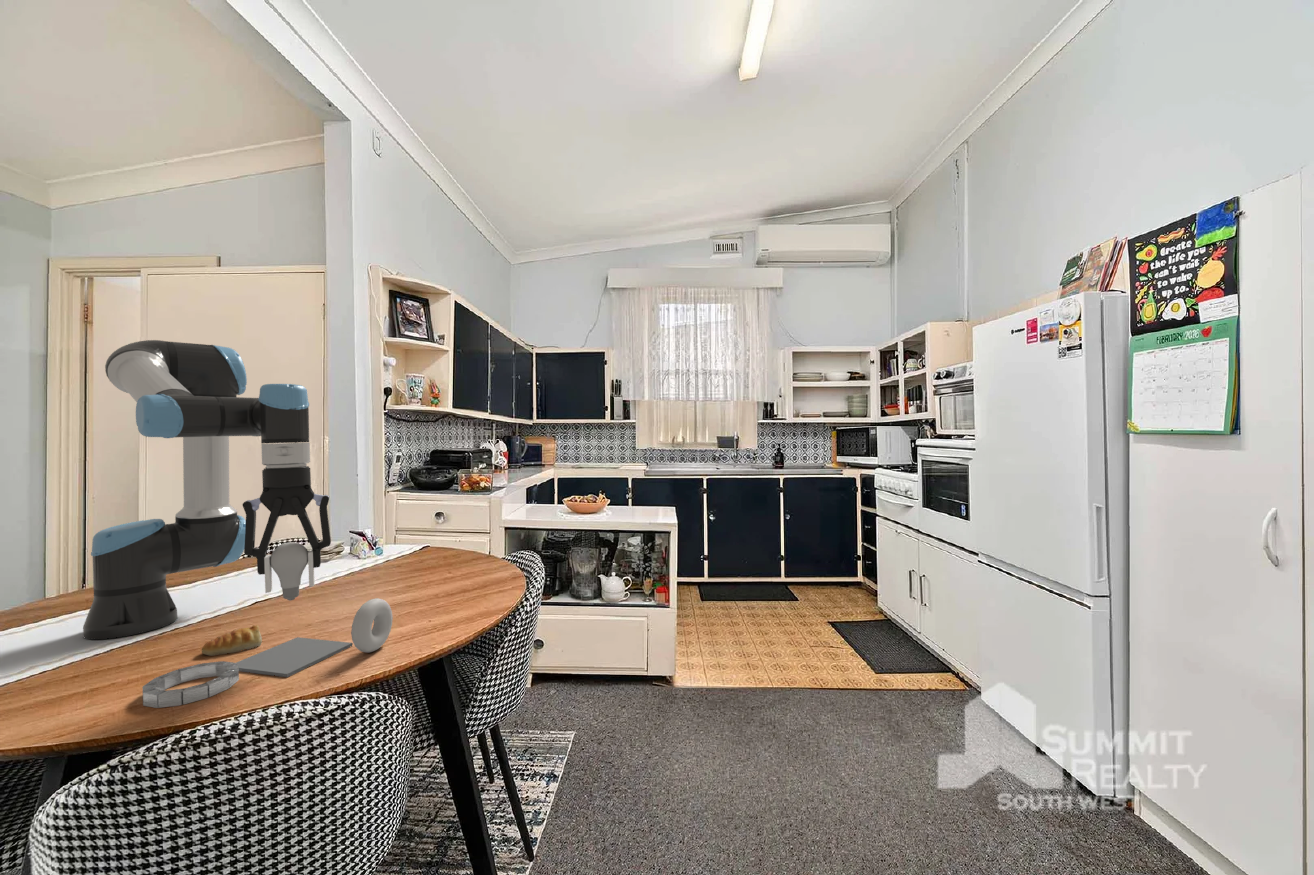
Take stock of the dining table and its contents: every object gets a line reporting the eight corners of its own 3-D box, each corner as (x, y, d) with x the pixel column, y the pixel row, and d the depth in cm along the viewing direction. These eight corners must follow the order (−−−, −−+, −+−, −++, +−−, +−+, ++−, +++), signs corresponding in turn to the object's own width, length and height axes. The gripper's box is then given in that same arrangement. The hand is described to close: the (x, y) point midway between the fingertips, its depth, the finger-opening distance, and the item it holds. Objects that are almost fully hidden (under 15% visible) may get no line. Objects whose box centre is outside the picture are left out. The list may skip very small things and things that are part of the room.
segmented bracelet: (123, 702, 86) (123, 690, 86) (204, 669, 97) (204, 658, 97) (178, 711, 83) (177, 698, 83) (255, 676, 94) (254, 665, 94)
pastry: (203, 661, 102) (203, 641, 102) (199, 652, 106) (199, 633, 106) (264, 646, 108) (263, 627, 108) (258, 638, 113) (257, 620, 113)
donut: (364, 661, 99) (363, 608, 99) (347, 661, 100) (345, 607, 100) (397, 640, 109) (395, 591, 109) (381, 640, 110) (379, 591, 110)
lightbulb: (289, 595, 105) (288, 539, 105) (318, 595, 105) (316, 539, 104) (262, 605, 99) (261, 545, 99) (292, 605, 99) (290, 545, 98)
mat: (226, 669, 97) (226, 666, 97) (297, 640, 111) (297, 637, 111) (287, 677, 94) (287, 673, 94) (352, 645, 107) (352, 642, 107)
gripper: (218, 469, 94) (222, 602, 94) (344, 464, 103) (348, 584, 103) (227, 467, 100) (231, 591, 101) (345, 462, 110) (348, 575, 110)
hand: (290, 587), depth 102 cm, fingers closed on lightbulb, 6 cm apart
